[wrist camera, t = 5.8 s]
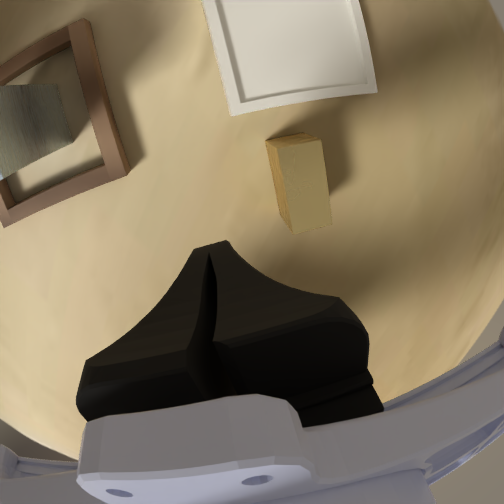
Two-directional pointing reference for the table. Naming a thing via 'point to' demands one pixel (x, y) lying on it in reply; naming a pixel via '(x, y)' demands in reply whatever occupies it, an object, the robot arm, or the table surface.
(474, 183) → the table surface
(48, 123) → the brushed metal block
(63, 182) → the socket
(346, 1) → the tray
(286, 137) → the bar
